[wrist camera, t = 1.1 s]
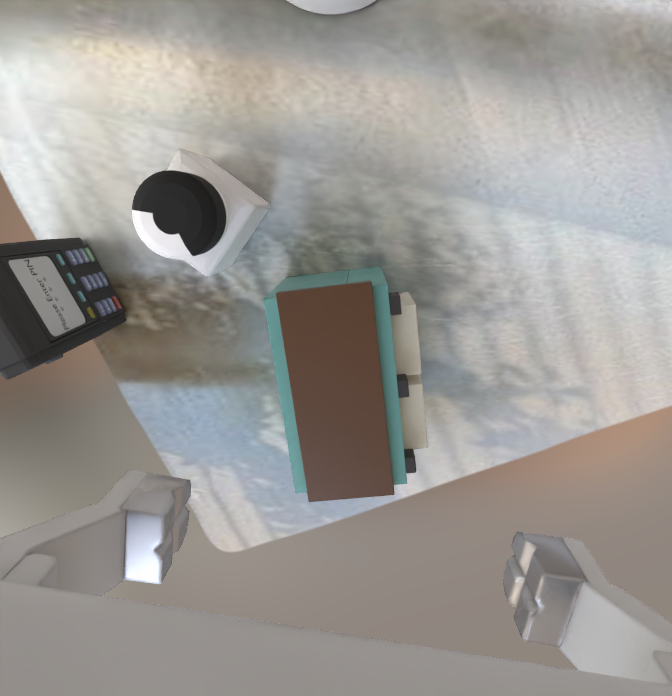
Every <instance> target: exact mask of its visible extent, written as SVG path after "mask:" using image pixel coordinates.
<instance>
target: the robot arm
mask: <svg viewBox="0 0 672 696" xmlns="http://www.w3.org/2000/svg"><path fill="white" fill-rule="evenodd" d="M286 1H288V2H290V3H291V4H293V5H295V6H297V7H299V8H301V9H304V10H307V11H310V12H314V13H319V14H330V15H332V14H344V13H349V12H352V11H356V10H359V9H361V8H364V7H366V6H368V5H370V4H371V3H373V2H375V1H376V0H286ZM190 494H191V483H190V480H187V479H181V478H176V477H170V476H165V475H159V474H153V473H148V472H141V471H134V470H129V471H127V472H126V473H125V474H124V475H123V476H122V477H121V479H120V480H119V481H118V482H117V483H116V484H115V485H114V486H113V487H112V488H111V489H110V491H109V492H108V493H107V494H106V495H105V496H104V497H103V498H102V500H101V501H100V502H99V503H98V504H97V505H87V506H85V507H82V508H79V509H77V510H74V511H71V512H69V513H66V514H63V515H61V516H58V517H56V518H53V519H51V520H47V521H45V522H42V523H39V524H37V525H34V526H32V527H29V528H26V529H23V530H21V531H18V532H16V533H13V534H10V535H7V536H5V537H2V538H0V696H672V623H671V622H670V621H668V620H667V619H665V618H664V617H662V616H661V615H659V614H658V613H656V612H655V611H654V610H652V609H651V608H649V607H648V606H646V605H645V604H643V603H642V602H640V601H639V600H637V599H636V598H635V597H633V596H632V595H630V594H629V593H627V592H626V591H624V590H623V589H621V588H620V587H617V586H612V584H611V583H610V581H609V580H608V579H607V577H606V575H605V574H604V573H603V571H602V570H601V568H600V567H599V565H598V564H597V562H596V561H595V559H594V558H593V556H592V555H591V553H590V552H589V551H588V549H587V548H586V546H585V545H584V543H583V542H582V541H580V540H578V539H571V538H564V537H554V536H546V535H539V534H531V533H524V532H517V533H516V534H515V536H514V538H513V541H512V545H511V546H512V549H513V551H514V553H515V555H514V556H512V557H511V558H510V559H509V560H508V561H507V562H506V566H505V570H504V583H503V584H504V590H505V595H506V597H507V601H508V603H510V604H511V605H512V606H513V607H514V608H515V609H516V611H515V614H514V619H515V622H516V625H517V627H518V629H519V632H520V635H521V637H522V640H523V641H526V642H532V643H537V644H542V645H548V646H553V647H559V648H560V650H561V651H562V652H563V653H564V655H565V656H567V658H568V659H569V660H570V661H571V662H572V663H573V664H574V665H575V666H576V667H577V668H578V669H579V671H578V670H572V669H566V668H559V667H553V666H546V665H539V664H534V663H527V662H521V661H513V660H508V659H502V658H495V657H489V656H482V655H476V654H470V653H463V652H456V651H451V650H444V649H438V648H431V647H425V646H419V645H412V644H406V643H400V642H392V641H386V640H380V639H374V638H367V637H361V636H354V635H349V634H342V633H336V632H329V631H323V630H317V629H310V628H304V627H297V626H291V625H285V624H278V623H272V622H266V621H259V620H253V619H247V618H240V617H234V616H227V615H221V614H215V613H208V612H202V611H195V610H189V609H183V608H176V607H170V606H163V605H157V604H150V603H145V602H137V601H131V600H125V599H119V598H113V597H106V596H102V595H104V594H105V593H106V592H108V591H110V590H111V589H113V588H114V587H116V586H117V585H118V584H120V583H122V582H123V579H124V580H132V581H140V582H148V583H156V584H161V582H162V580H163V579H164V577H165V575H166V573H167V571H168V569H169V568H170V565H171V564H172V554H173V553H175V552H177V551H179V549H180V547H181V545H182V543H183V540H184V537H185V534H186V531H187V525H188V520H189V510H188V509H187V507H186V506H185V504H186V503H187V501H188V499H189V497H190Z"/></svg>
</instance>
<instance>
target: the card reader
mask: <svg viewBox="0 0 672 696" xmlns="http://www.w3.org/2000/svg"><path fill="white" fill-rule="evenodd" d="M124 312H125V310H124V308H123V307H122V305H121V303H120V301H119V300H118V298H117V296H116V294H115V292H114V291H113V289H112V287H111V285H110V284H109V282H108V280H107V278H106V276H105V275H104V273H103V271H102V269H101V267H100V266H99V264H98V262H97V260H96V259H95V257H94V255H93V253H92V251H91V250H90V248H89V246H88V245H87V244H84V243H83V241H82V240H81V239H80V238H66V239H48V240H37V241H27V242H16V243H6V244H0V373H1V375H2V376H3V378H5V379H11V378H13V377H15V376H17V375H19V374H21V373H23V372H26V371H28V370H30V369H32V368H35V367H37V366H39V365H41V364H43V363H46V364H49V363H51V362H53V361H55V360H57V359H60V358H62V357H63V353H65V352H67V351H69V350H71V349H73V348H75V347H77V346H79V345H81V344H83V343H85V342H88V341H90V340H92V339H94V338H96V337H98V336H100V335H102V334H103V333H105V332H107V331H109V330H110V329H112V328H114V327H116V326H118V325H119V324H121V323H123V322H125V321H126V318H125V316H124V314H123V313H124Z"/></svg>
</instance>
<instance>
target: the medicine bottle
mask: <svg viewBox="0 0 672 696" xmlns="http://www.w3.org/2000/svg"><path fill="white" fill-rule="evenodd" d="M269 208H270V205H269V203H268V202H266V201H265V200H264V199H262V198H261V197H260V196H258V195H257V194H256V193H254V192H253V191H252V190H250V189H249V188H248V187H246V186H245V185H244V184H242V183H241V182H240V181H238V180H237V179H236V178H234V177H233V176H232V175H230V174H229V173H228V172H226V171H225V170H224V169H222V168H221V167H220V166H218V165H217V164H216V163H214V162H213V161H212V160H210V159H209V158H207V157H204V156H201V155H198V154H195V153H192V152H189V151H186V150H183V149H180V150H178V151H177V153H176V154H175V156H174V158H173V159H172V161H171V163H170V164H169V166H168V168H167V170H166V171H161V172H158V173H155V174H153V175H151V176H150V177H148V178H147V179H146V180H145V181H144V182H143V183H142V184H141V185H140V186H139V188H138V190H137V191H136V194H135V196H134V200H133V205H132V217H133V222H134V226H135V229H136V231H137V233H138V235H139V236H140V238H141V240H142V241H143V242H144V243H145V244H146V245H147V246H148V247H149V248H150V249H151V250H152V251H154V252H155V253H157V254H159V255H161V256H163V257H166V258H170V259H182V260H184V261H185V262H187V263H188V264H189V265H191V266H192V267H194V268H195V269H196V270H198V271H199V272H201V273H202V274H203V275H205V276H207V277H208V276H211V275H214V274H216V273H218V272H220V271H222V270H224V269H227V268H229V267H230V266H231V265H232V264H233V262H234V261H235V259H236V258H237V256H238V255H239V253H240V252H241V250H242V249H243V247H244V246H245V244H246V243H247V241H248V240H249V238H250V237H251V235H252V234H253V232H254V231H255V229H256V228H257V226H258V225H259V223H260V222H261V220H262V219H263V217H264V216H265V214H266V213H267V211H268V210H269Z"/></svg>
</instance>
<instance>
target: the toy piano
mask: <svg viewBox="0 0 672 696" xmlns="http://www.w3.org/2000/svg"><path fill="white" fill-rule="evenodd" d="M264 306H265V312H266V318H267V324H268V330H269V336H270V342H271V348H272V354H273V360H274V366H275V372H276V378H277V384H278V390H279V396H280V402H281V408H282V414H283V420H284V426H285V432H286V438H287V444H288V450H289V456H290V462H291V468H292V474H293V480H294V486H295V492H296V493H303V492H307V494H308V500H309V502H315V501H327V500H338V499H350V498H362V497H374V496H386V495H394V485H397V484H407V476H406V473H415V472H416V463H415V455H414V451H413V449H404V446H403V436H402V425H401V415H400V405H399V398H404V397H409V387H408V379H407V376H406V374H399V375H397V374H396V364H395V354H394V344H393V334H392V324H391V316H392V315H401V314H402V311H401V300H400V295H399V293H398V292H395V293H388V284H387V282H386V279H385V276H384V274H383V271H382V268H381V266H377V267H368V268H360V269H352V270H343V271H335V272H327V273H319V274H310V275H302V276H294V277H286V278H285V279H284V280H283V281H282V282H281V283H280V284H279V285H278V286H277V287H276V288H275V289H274V290H273V291H272V292H270V293H269V294H268V295H267V296H266V297H265V298H264Z"/></svg>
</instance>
